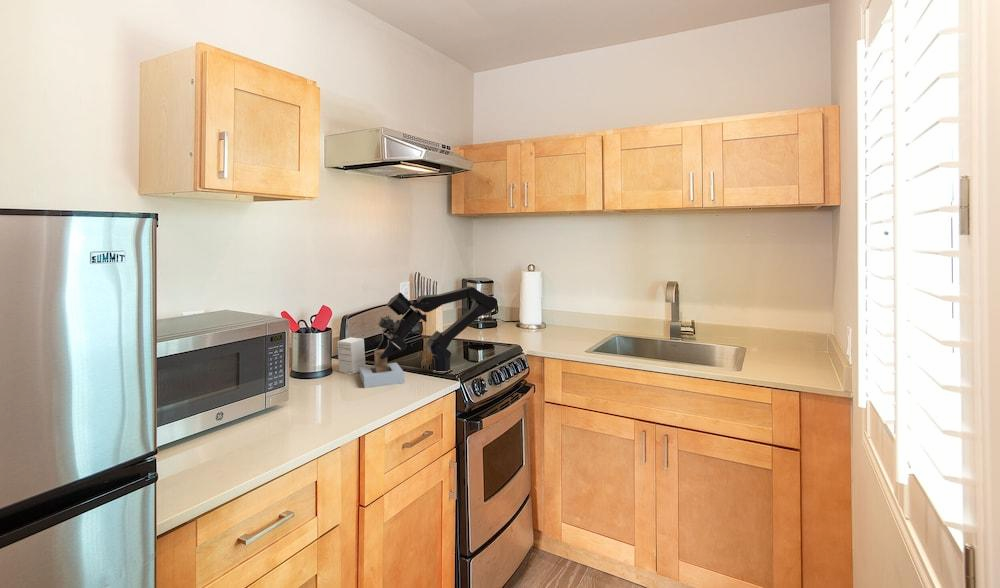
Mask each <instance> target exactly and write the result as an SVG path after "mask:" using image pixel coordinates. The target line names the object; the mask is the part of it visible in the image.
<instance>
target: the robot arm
mask: <svg viewBox="0 0 1000 588" xmlns="http://www.w3.org/2000/svg"><path fill="white" fill-rule="evenodd" d="M468 298H470V299H472V300H473V301H474V303H473V305H472V307H471V308H470V309H469V310H468V311H466V312H465V313H464V314H463V315H461V316H460V317H459V318H458V319H457V320H455V322H453V323H452V324H451V325H449V326H448V327H447V328H446V329H445V330H444V331H441V332H440V331H439V330H436V331H434V333H433V334H432V335H430V336H428V339H427V341H426V348H427V350H429V352H431V354H432V357H431V370H432V369H433V370H436V371H448V370H450V369H451V356H452V352H451V351H450V350H449V349H448V347H449V346H450V345H451V343H452V341H453V339H455V338H456V337H457V336H458V335H459V334H460V333H462V332H463V331H464V330H465V329H467V328H468V327H469V326H470V325H472V323H474V322H475V321H476V320H477V319H479V318H480V317H482V316H484V315H486V314H489V313H491V312H492V311H494V310H495V309H496V307H497V302H498V301H497V299H496V298H495V297H494V296H492V295H488V294H485V293H483V292H481V291H479V290H478V289H476V287H473V286H470V285H468V286H465V287H463V288H458V289H455V290H451V291H447V292H443V293H439V294H425V295H424V294H423V295H420V296H418V297H417V298H415V299H410V300H409V299H408V298H407V297H405V296H404V294H403V293H401V292H400V291H399V292H398V293H397V294H395V295H394V296H393V297H391V298H390V299H389V301H388V302H387V304H386V306H387V307H388V308H389V309H390V310H391V311H393V313H395V314H397V316H401V315H402V317H401V318H400V319H397V320H396V321H394V319H391V318H390V317H389V318H386V317H380V320H379V322H378V324H377V326H378V327H379V328H382V332H381V335H382V339H381V341H380V343H379V345H378V346H377V349H376V350H381V349H385V350H384V352H383V353H382V355H381V356H380V358H381V359H384V358H386V357H387V358H388V357H391V356H392V355H395V354H397V353H400V352H402V351H405V350H406V349H407V348H408V344H407V342H406V338H407V336H408V335H409V334H412V333H413V329H414V328H415V327H416V326H417V325H418V324H419V322H420V321H421V320H422V321H423V322H425V323H427V322H428V319H427V316H428V315H427V314H425V313H431V312H432V311H434V310H436V309H438V308H440V307H441V306H443V305H446V304H450V303H454V302H457V301H460V300H465V299H468ZM413 308H414V309H415V310H414V309H413ZM422 312H423V313H422Z"/></svg>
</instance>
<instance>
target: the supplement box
mask: <svg viewBox="0 0 1000 588" xmlns="http://www.w3.org/2000/svg"><path fill="white" fill-rule="evenodd" d="M336 345H337V354H338V355H337V356H338V369H339V371H338V372H339V373H342V372H344V373H343V374H348V373H351V374H350V375H355V374H357V373H359V367H363V366H366V351H365V338H359V337H347V338H344V339H341V340H337V344H336ZM354 373H355V374H354Z"/></svg>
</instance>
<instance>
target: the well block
mask: <svg viewBox="0 0 1000 588" xmlns="http://www.w3.org/2000/svg"><path fill="white" fill-rule="evenodd" d="M387 364H388V371H386V372H378V373H375V364H373V365H365V366H363V367H359V372H358V373H359V379H360V381H361V384H362V385H364V386H363V387H364V389H368V388H367V387H370V388H376V387H383V386H384V387H385V386H391V385H398V384H405V372H404V370H403V368H402V367H401V366H400V365H399V364H398V363H397V362H391V363H390V362H389V363H388V362H387Z"/></svg>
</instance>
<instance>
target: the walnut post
mask: <svg viewBox="0 0 1000 588" xmlns="http://www.w3.org/2000/svg"><path fill="white" fill-rule="evenodd" d="M384 350H385V349H381V350H377V349H374V350H373V355H374V356H373V357H374V358H373V359H374V365H375V373H378V372H386V371H388V357H386V358H384V359H381V358H380V356H381V355H382V353H383V352H384Z"/></svg>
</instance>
